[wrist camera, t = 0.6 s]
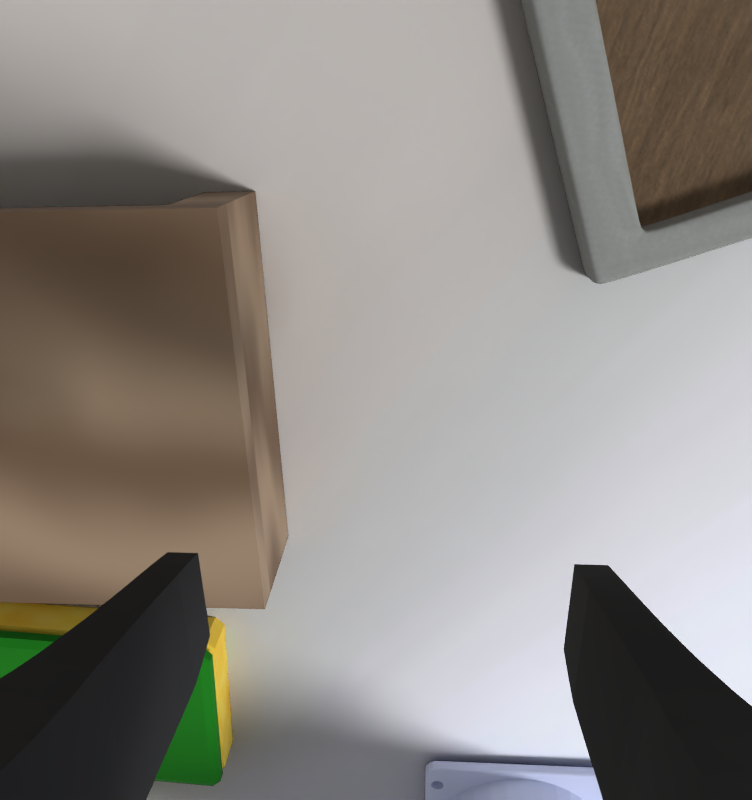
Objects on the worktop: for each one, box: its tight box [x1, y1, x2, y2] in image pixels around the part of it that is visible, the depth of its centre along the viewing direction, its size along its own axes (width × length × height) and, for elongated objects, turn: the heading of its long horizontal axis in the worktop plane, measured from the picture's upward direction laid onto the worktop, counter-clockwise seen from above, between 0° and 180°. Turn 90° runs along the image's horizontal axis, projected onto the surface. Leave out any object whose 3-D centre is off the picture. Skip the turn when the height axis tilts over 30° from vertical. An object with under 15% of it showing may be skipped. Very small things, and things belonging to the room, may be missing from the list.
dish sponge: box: [0, 602, 233, 786], centre depth 26 cm, size 7×14×2 cm, turn 88°
